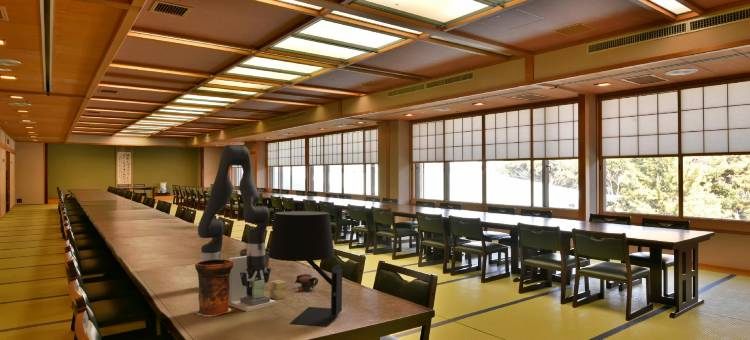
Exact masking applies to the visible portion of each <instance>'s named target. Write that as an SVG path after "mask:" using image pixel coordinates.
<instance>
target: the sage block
mask: <svg viewBox="0 0 750 340" xmlns="http://www.w3.org/2000/svg"><path fill="white" fill-rule="evenodd" d="M249 283H250V281H249ZM264 296H265V284H264V280H261V279H257V278H256V279H255V280H254V281H253V282H252V296H248V295H247V297H249V298H252V299H257V298H261V297H264Z"/></svg>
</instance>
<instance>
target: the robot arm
mask: <svg viewBox="0 0 750 340" xmlns="http://www.w3.org/2000/svg"><path fill="white" fill-rule="evenodd" d="M219 158H220V159H219V163H218V168H217V172H216V175H215V178H214V181H213V185H212V187H211V190H210V193H209V197H208V200H207V202H206V205H205V209H204V211H203V213H202V216H201V218H200V220H199V223H198V226H197V235H198V236H199V237H200V239H201V238H202V239H211V240H210V241H208V242H207V243H205V244H203V245H202V246H201V248H200V253H201V254H200V261H205V260H213V259H220V260H222V247H223V240H224V222H223V220H222V219H221V218H215V216H216V215H217V214H218V213H219V212H220V211H222V210H223V209H224V208H225V207H227V205H228V204H229V202H230V200H231V197H232V194H233V190H234V187H233V184H232V181H231V178H230V175H229V171H230V167H231V166H233V167H234V166H240V167H241V168H242V175H241V179H240V181H239V186H238V187H239V194H240V196H241V199H242V204H243V206H242V207H243V218H244V220H245V222H246V223H248V224H256V227H253V228H250V229H248V231H247V245H246V249H247V269H246V271H244V272H240V276H241V281H242V285H243V286H246V287H247V295H248V296H252V282H253V281H254V280H255V279H256V278H257V279H261V280H264V285H265V284H266V283H269V280H270V275H271V270H272V269H271V268H270V267H268V268H265V267H264V265H265V248H266V231H267V227H268V224H269V222H270V221H269V220H270V213H271V212H270V210H269V208H268V207H267V206H265V205H258V206H257V205H256V204H258V203H259V202H260V200H261V199H260V198H261V197H260V193H259V191H258V189H257V185H256V182H255V178H254V174H253V173H254V172H253V167H252V160H251V155H250V151H249V148H248V147H247V146H245V145H241V144H238V145H237V144H226V145H225V146H224V147H223V148H222V151H221V154H220V157H219ZM254 205H256V206H254ZM263 272H264V276H263ZM247 274H248V278H247ZM250 278H252V279H250ZM249 281H250V283H249Z"/></svg>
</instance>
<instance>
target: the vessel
mask: <svg viewBox="0 0 750 340" xmlns="http://www.w3.org/2000/svg"><path fill="white" fill-rule="evenodd" d="M194 268H195V271H196V272H197V277H198V305H199V306H198V307H199V309H198V310H199V311H198V310H197V311H195V312H194V314H195V315H198V316H203V317H212V316H213V317H215V316H218V315H222V314H227V313H231V312H232V308H230V306H229V275H230V271H231V269H232V268H233V261H231V260H229V258H227V259H226V258H224V259H221V260H220V259H213V260H205V261H201V260H200V261H196V262H195V264H194Z"/></svg>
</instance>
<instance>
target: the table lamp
mask: <svg viewBox="0 0 750 340" xmlns="http://www.w3.org/2000/svg"><path fill="white" fill-rule="evenodd" d="M272 224H273V225H272V231H271V237H270V245H269V248H268V249H269V255H268V257H269V259H272V260H275V261H276V260H277V261H281V262H282V261H284V262H306V263H308V264H309V266H311V267H312V268H313V270H315V271H316V272H317V273H318V274H319V275H320V276H321V277H322V278H323V280H325V281H326V282H327V283H328V285H330V286H331V287H330V288H331V290H330V291H331V295H330V296H331V297H330V307H318V306H308V307H307V308H306V309H304V310H303V311H302V312H301V313H300V314H298V315H297V316H296V317H295V318H294V319H293V320H292V321H290V323H289V324H290V325H299V326H301V325H302V326H313V327H314V326H315V327H323V328H325V327H326V328H327V327H329V325H330V324H331V323H332V322H333V321H334V320H335V319H336V317H338V315H339V314H340V313H341V312H342V311H343V308H342V305H343V268H341V262H338V263H337V264H335V265H334V266H333V267H332V268H331V277H330V276H329V275H328V274H327V273H326V272H325V271H324V270H323V269H322V268H321V267H320V266H319V264H317V263H316V262H315V261H322V260H323V261H324V260H328V259H330V258H333V257H335V249H334V242H333V233H332V224H331V217H330V212H328V211H318V210H317V211H316V210H287V211H285V210H284V211H275V213H274V218H273V223H272Z"/></svg>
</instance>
